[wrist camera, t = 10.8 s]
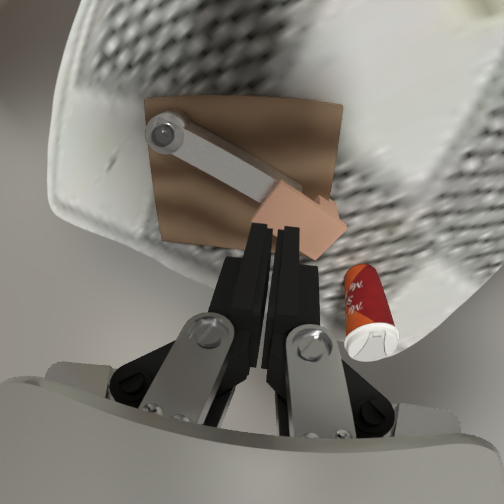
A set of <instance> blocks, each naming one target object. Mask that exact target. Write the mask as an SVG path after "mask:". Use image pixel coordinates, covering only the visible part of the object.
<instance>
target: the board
mask: <svg viewBox="0 0 504 504" xmlns="http://www.w3.org/2000/svg"><path fill="white" fill-rule="evenodd" d="M144 105H145V118H146V126H147V124H148V122H149V121H150V120H151V119H152V118H153V117H155V116H157V115H158V114H160V113H162V112H164V111H166V110H170V109H177V110H180V111H182V112H184V113H185V114H187V115H188V117H189V118H190V120H191V122H192V123H194V124H196V125H198V126H200V127H202V128H204V129H206V130H208V131H210V132H211V133H213V134H215V135H217V136H219V137H221V138H222V139H224V140H226V141H228V142H230V143H232V144H233V145H235V146H237V147H239V148H240V149H242V150H244V151H246V152H247V153H249V154H251V155H253V156H254V157H256V158H258V159H259V160H261V161H263V162H264V163H266V164H268V165H270V166H271V167H273V168H275V169H276V170H278V171H279V172H281V173H283V174H284V175H286V176H288V177H289V178H291V179H292V180H294V181H296V182H297V183H299V184H300V185H302V194H304V195H305V196H307V197H308V198H310V199H311V200H313V201H314V200H315V199H316V197H317V196H318V195H320V196H322V197H323V198H325V199H326V200H327V201H329V198H330V192H331V187H332V181H333V175H334V168H335V162H336V156H337V149H338V142H339V135H340V128H341V120H342V112H343V105H341V104H335V103H328V102H320V101H313V100H304V99H294V98H283V97H270V96H252V95H182V96H164V97H151V98H146V99H144ZM148 149H149V157H150V166H151V174H152V181H153V188H154V195H155V202H156V209H157V215H158V221H159V227H160V233H161V238H162V241H168V242H178V243H187V244H196V245H206V246H215V247H224V248H233V249H243V250H245V247H246V244H247V240H248V236H249V232H250V228H251V224H252V222H251V220H252V217H253V215H254V214H255V213H256V211H257V210H258V209H259V207H260V206H261V205H262V204H261V203H259V202H257V201H256V200H254V199H252V198H250V197H249V196H247V195H245V194H244V193H242V192H240V191H238V190H236V189H235V188H233V187H231V186H229V185H228V184H226V183H224V182H222V181H220V180H219V179H217V178H215V177H213V176H211V175H210V174H208V173H206V172H204V171H202V170H200V169H199V168H197V167H195V166H193V165H191V164H189V163H188V162H186V161H184V160H182V159H180V158H178V157H176V156H174V155H173V154H160V153H158V152H156V151H154V150H153V149H152V148H151V147H150V146H149V144H148ZM276 241H277V237H276V236H275V235H273V236H272V248H271V253H275V249H276ZM299 256H307V255H306V254H304V253H302V252H301V251H299ZM307 257H309V256H307Z"/></svg>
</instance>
